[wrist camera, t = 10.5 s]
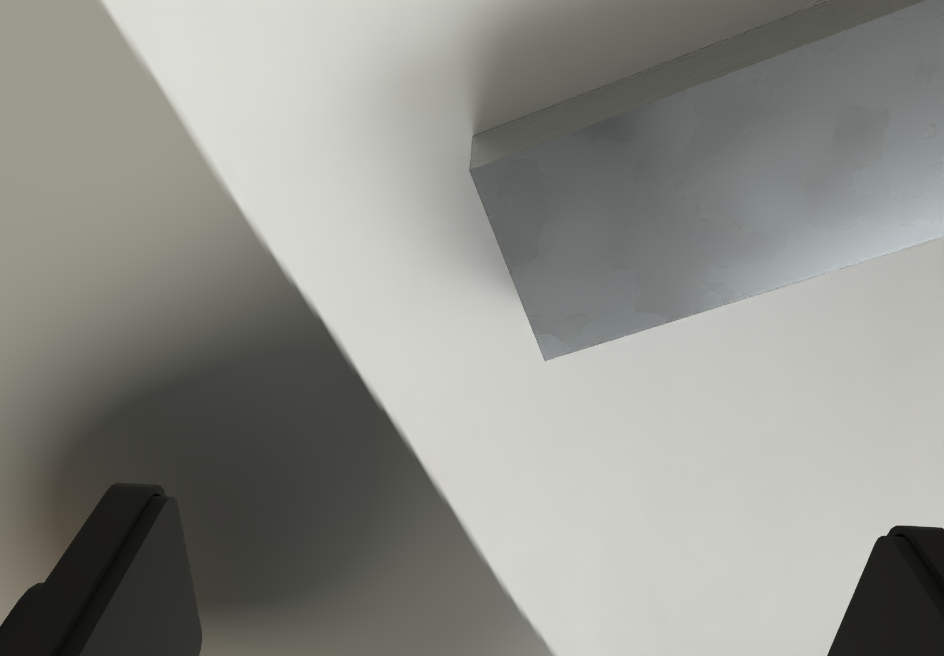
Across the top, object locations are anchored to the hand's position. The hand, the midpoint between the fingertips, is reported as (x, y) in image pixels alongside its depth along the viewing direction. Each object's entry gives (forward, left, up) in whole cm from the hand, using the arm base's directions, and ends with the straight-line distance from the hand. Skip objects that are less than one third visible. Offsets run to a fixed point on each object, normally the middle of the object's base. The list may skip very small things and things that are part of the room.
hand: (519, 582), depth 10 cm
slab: (0, -8, -15) cm, 17 cm away
